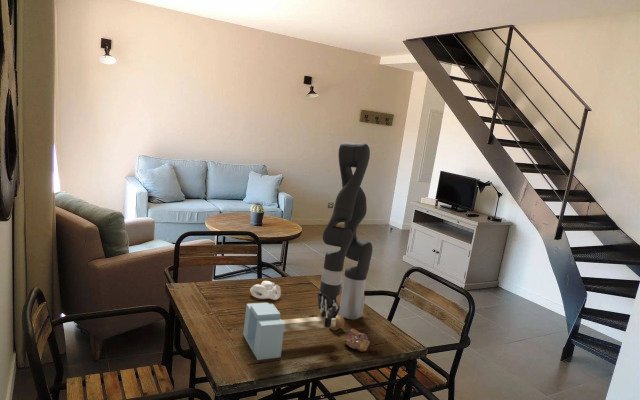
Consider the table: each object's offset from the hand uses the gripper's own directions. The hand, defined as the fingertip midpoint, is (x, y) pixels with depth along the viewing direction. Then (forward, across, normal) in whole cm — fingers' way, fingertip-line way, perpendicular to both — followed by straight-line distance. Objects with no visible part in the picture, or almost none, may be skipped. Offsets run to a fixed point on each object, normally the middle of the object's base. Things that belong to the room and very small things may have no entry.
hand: (325, 324), depth 164 cm
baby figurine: (+6, +40, +9) cm, 41 cm away
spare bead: (+6, +7, -9) cm, 13 cm away
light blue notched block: (+6, 0, +24) cm, 25 cm away
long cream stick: (0, 0, +8) cm, 8 cm away
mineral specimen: (+6, -7, -10) cm, 14 cm away
